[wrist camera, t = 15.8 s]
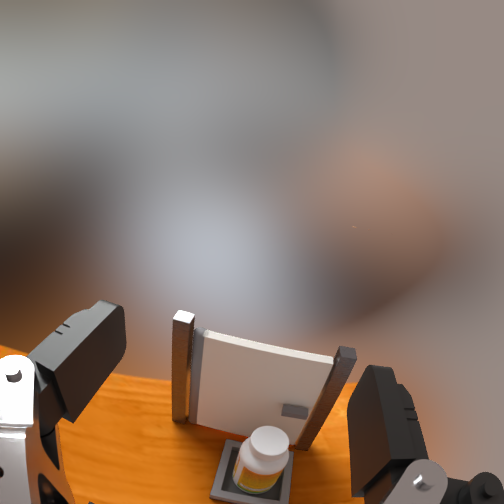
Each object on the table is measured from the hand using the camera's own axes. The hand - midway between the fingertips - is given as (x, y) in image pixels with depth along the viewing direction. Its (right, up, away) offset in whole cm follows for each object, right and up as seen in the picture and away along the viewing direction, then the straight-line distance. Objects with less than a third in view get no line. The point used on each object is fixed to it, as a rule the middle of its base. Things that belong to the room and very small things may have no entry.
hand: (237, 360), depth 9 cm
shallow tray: (+1, -24, +21) cm, 32 cm away
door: (-1, -21, +27) cm, 34 cm away
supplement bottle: (+1, -24, +21) cm, 32 cm away
